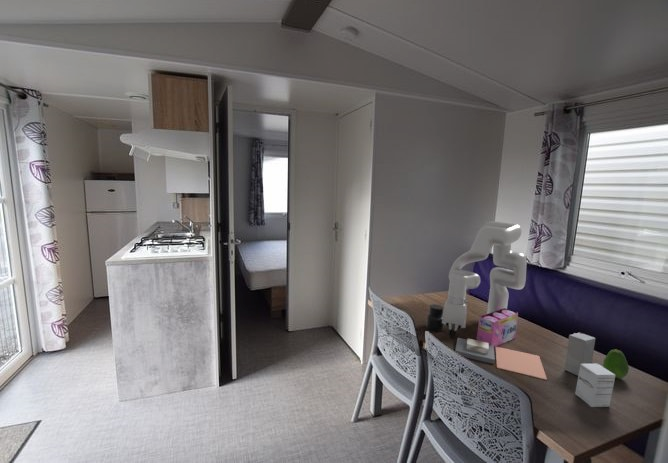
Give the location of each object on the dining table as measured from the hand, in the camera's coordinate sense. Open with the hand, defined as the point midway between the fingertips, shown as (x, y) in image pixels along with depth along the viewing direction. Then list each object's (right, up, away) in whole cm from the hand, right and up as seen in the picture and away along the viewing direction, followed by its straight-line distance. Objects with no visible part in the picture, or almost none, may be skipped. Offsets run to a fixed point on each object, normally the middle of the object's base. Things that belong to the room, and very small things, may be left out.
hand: (452, 337), depth 154 cm
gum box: (+26, -5, +10) cm, 28 cm away
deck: (+9, -6, -3) cm, 11 cm away
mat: (+26, -8, -10) cm, 29 cm away
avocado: (+60, -11, -19) cm, 64 cm away
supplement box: (+39, -12, -34) cm, 53 cm away
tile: (+10, -4, -4) cm, 12 cm away
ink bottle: (-2, -2, +20) cm, 21 cm away
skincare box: (+47, -10, -15) cm, 51 cm away
